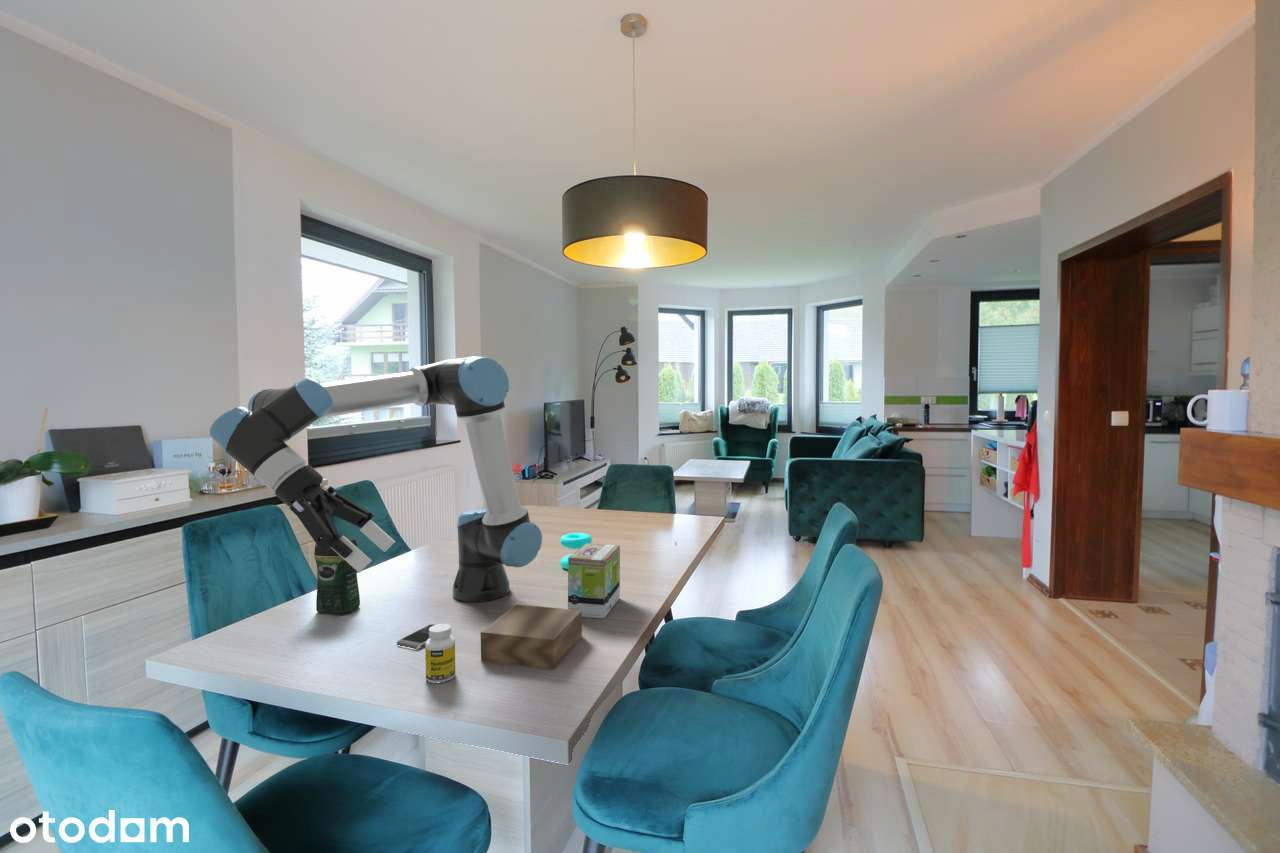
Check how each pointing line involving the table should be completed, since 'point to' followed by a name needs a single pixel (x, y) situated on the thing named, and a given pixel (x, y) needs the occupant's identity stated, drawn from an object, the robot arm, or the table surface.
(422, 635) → the cell phone
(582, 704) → the table surface
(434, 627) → the supplement bottle
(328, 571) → the coffee jar
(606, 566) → the tea box
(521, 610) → the walnut block
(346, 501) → the robot arm
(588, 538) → the donuts
